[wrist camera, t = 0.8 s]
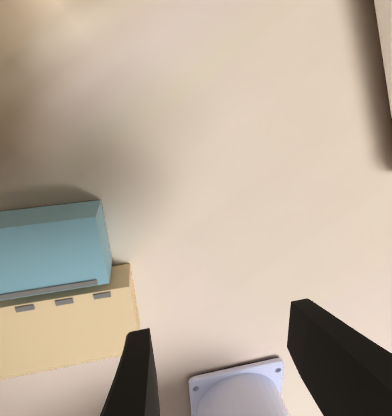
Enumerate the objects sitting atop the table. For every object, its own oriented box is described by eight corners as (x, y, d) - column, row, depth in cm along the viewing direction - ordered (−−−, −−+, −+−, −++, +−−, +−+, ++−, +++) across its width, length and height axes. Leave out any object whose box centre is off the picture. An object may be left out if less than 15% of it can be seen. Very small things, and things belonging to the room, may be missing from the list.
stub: (112, 260, 18) (109, 284, 16) (7, 275, 17) (-12, 303, 15) (100, 199, 17) (95, 217, 14) (-15, 213, 16) (-41, 234, 13)
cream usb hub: (139, 324, 20) (140, 353, 18) (-34, 355, 19) (-57, 392, 16) (129, 263, 19) (129, 287, 16) (-65, 292, 17) (-96, 324, 15)
